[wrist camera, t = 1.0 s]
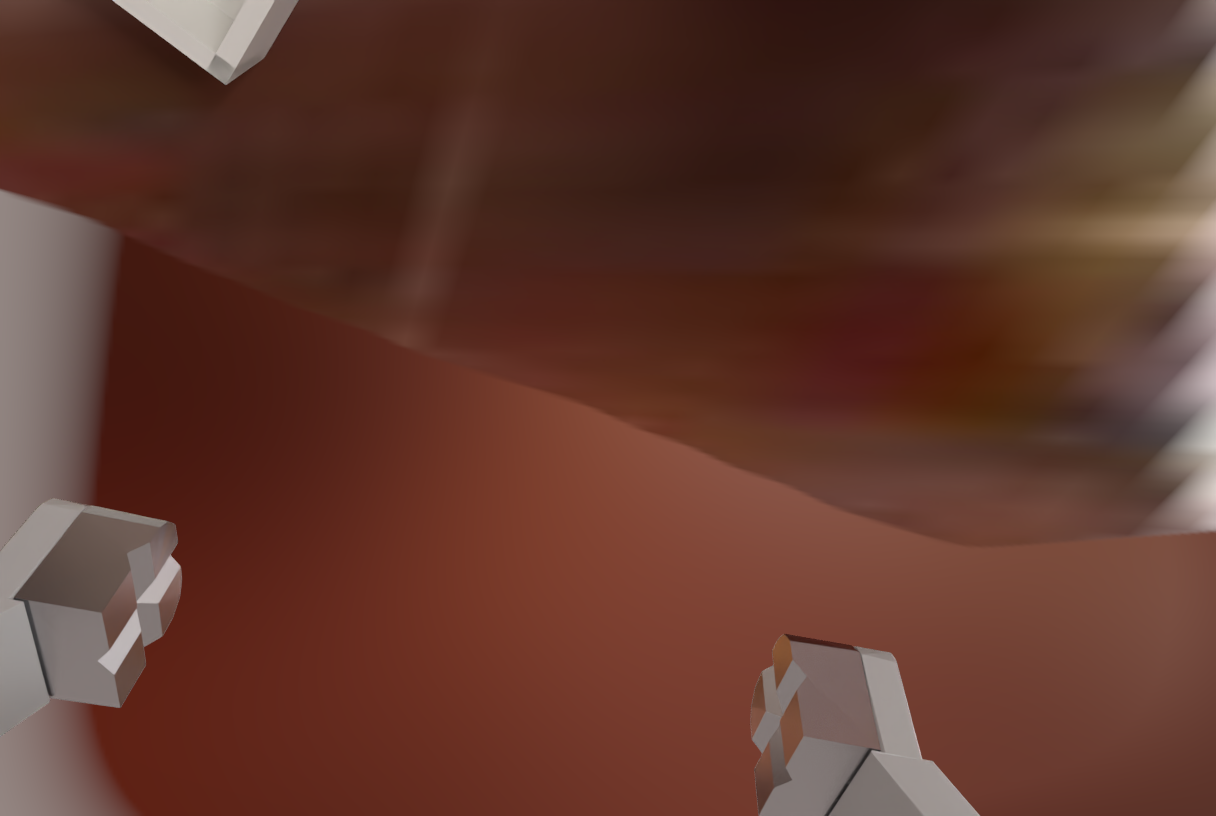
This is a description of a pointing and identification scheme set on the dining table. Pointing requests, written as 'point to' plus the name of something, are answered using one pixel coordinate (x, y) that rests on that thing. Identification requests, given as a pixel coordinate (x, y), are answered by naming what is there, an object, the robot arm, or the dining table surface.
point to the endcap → (215, 29)
